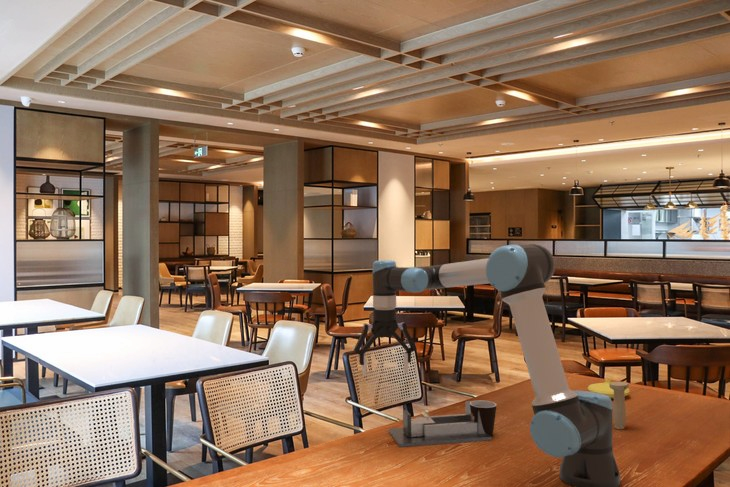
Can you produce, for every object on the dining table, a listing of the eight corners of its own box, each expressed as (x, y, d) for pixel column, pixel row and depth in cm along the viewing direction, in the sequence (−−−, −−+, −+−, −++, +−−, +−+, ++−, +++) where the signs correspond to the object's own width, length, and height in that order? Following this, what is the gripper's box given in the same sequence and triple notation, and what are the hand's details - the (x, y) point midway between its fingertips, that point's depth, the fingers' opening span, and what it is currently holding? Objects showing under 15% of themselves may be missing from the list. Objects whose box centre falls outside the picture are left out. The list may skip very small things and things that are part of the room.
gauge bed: (491, 440, 197) (490, 411, 197) (399, 447, 192) (399, 418, 192) (473, 425, 213) (473, 399, 213) (388, 431, 208) (388, 404, 207)
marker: (429, 425, 208) (428, 411, 208) (426, 426, 208) (426, 411, 208) (427, 424, 210) (427, 410, 210) (424, 424, 210) (424, 410, 210)
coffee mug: (495, 439, 197) (495, 408, 197) (468, 437, 199) (468, 406, 199) (498, 428, 208) (498, 399, 208) (472, 426, 211) (472, 397, 210)
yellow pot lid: (632, 394, 251) (632, 377, 251) (626, 403, 238) (625, 385, 238) (592, 390, 259) (592, 373, 259) (583, 398, 246) (583, 380, 246)
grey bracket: (435, 434, 199) (435, 413, 199) (407, 437, 197) (407, 415, 197) (425, 424, 210) (425, 404, 210) (399, 426, 208) (399, 406, 208)
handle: (606, 428, 208) (606, 383, 208) (619, 425, 211) (619, 381, 211) (618, 431, 203) (618, 386, 203) (632, 428, 206) (631, 383, 206)
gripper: (419, 305, 205) (419, 369, 205) (344, 308, 201) (345, 373, 201) (425, 308, 197) (425, 374, 198) (348, 310, 193) (348, 378, 193)
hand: (385, 374), depth 199 cm, fingers open, 13 cm apart
